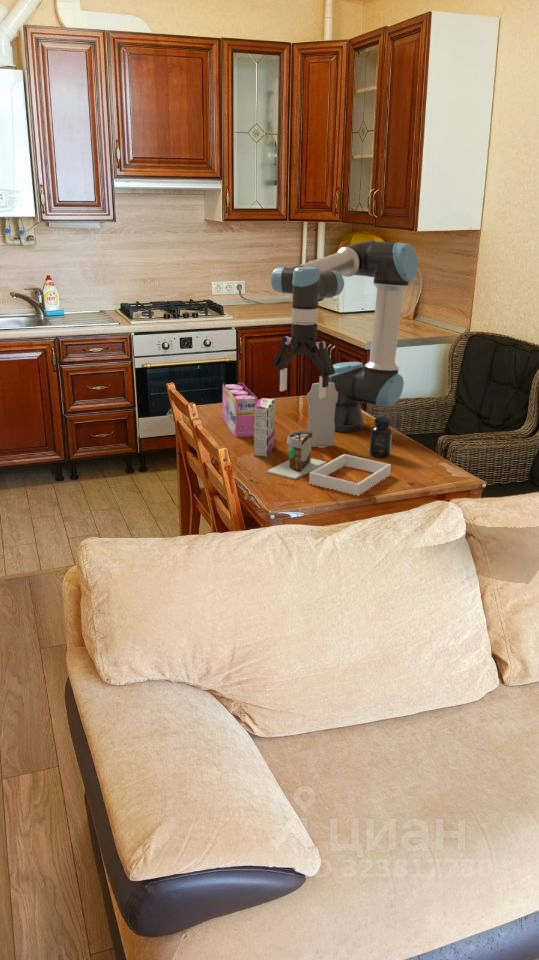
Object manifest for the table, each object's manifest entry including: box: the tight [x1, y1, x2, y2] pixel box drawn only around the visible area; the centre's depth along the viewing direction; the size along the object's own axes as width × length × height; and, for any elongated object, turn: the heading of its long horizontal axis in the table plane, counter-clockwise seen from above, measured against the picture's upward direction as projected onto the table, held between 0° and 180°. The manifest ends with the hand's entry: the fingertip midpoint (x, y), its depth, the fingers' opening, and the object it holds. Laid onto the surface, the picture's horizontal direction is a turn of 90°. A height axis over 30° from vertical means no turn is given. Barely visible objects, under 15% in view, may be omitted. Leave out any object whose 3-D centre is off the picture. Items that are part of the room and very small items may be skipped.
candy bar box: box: [253, 397, 276, 458], centre depth 250 cm, size 11×5×16 cm, turn 168°
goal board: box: [266, 458, 326, 480], centre depth 239 cm, size 18×10×1 cm, turn 146°
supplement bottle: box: [368, 417, 393, 459], centre depth 250 cm, size 7×7×12 cm
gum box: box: [221, 382, 259, 438], centre depth 275 cm, size 24×8×14 cm, turn 16°
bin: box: [308, 453, 392, 497], centre depth 230 cm, size 21×16×4 cm
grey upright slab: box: [306, 382, 338, 449], centre depth 255 cm, size 11×4×22 cm, turn 106°
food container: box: [286, 430, 313, 472], centre depth 237 cm, size 12×6×10 cm, turn 160°
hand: (302, 393), depth 232 cm, fingers open, 13 cm apart
